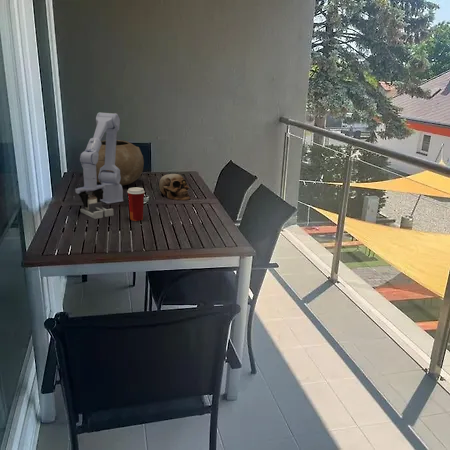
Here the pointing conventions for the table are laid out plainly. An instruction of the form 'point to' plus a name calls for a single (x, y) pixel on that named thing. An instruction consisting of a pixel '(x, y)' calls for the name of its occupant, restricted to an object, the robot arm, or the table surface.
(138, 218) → the paper cup
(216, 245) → the table surface
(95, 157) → the robot arm
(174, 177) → the tan skull
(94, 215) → the lane
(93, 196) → the jar
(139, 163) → the ceramic pot
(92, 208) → the pusher
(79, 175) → the table surface
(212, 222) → the table surface
